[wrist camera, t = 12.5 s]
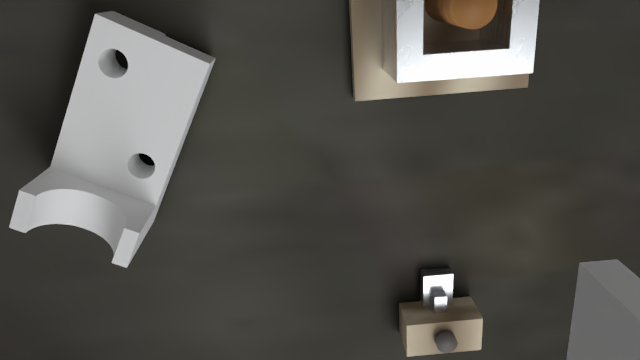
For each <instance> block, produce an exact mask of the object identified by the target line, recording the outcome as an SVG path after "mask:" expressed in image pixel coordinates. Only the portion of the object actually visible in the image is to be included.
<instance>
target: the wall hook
mask: <svg viewBox="0 0 640 360" xmlns="http://www.w3.org/2000/svg"><path fill="white" fill-rule="evenodd" d="M420 301H421V304H422V306H423V308H431V307H432V309H433V311H434V313H444V312H447V306H452V303H453V272H452V270H451V269H450V267H447V268H436V269H425V270H420Z"/></svg>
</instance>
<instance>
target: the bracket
mask: <svg viewBox="0 0 640 360" xmlns="http://www.w3.org/2000/svg"><path fill="white" fill-rule="evenodd" d="M116 50H119V51H120V52H122V53H123V54H124V55H125V57H126V59H127V61H128V69H125V68H123V67H121V66H120V65H119V63H118V62H117V60H116V56H115V53H116ZM215 59H216V58H214V57H212V56H210V55H207V54H205V53H203V52H201V51H198V50H196V49H194V48H191V47H189V46H187V45H185V44H182V43H180V42H178V41H176V40H173V39H171V38H169V37H167V36H166V34H164V33H162V32H160V31H157V30H155V29H153V28H151V27H148V26H146V25H144V24H142V23H139V22H137V21H135V20H133V19H130V18H128V17H126V16H124V15H121V14H119V13H117V12H114V11H109V12H103V13H96V14H95V15H94V19H93V22H92V26H91V29H90V33H89V36H88V39H87V43H86V46H85V50H84V53H83V56H82V60H81V63H80V67H79V70H78V74H77V77H76V80H75V84H74V87H73V91H72V94H71V97H70V101H69V104H68V108H67V111H66V114H65V118H64V121H63V125H62V128H61V132H60V135H59V138H58V142H57V145H56V149H55V152H54V155H53V159H52V162H51V166H50V167H49V168H48V169H47V170H45V171H44V172H43V173H41V174H40V175H39V176H37V177H36V178H35V179H33V180H32V181H31V182H29V183H28V184H27V185H25V186H24V187H23V188H21V189H20V190H19V193H18V197H17V200H16V204H15V208H14V211H13V215H12V219H11V222H10V226H9V228H12V229H15V230H18V231H21V232H24V233H26V232H27V231H29V230H30V229H32V228H35V227H38V226H41V225H47V224H66V225H73V226H77V227H81V228H84V229H87V230H90V231H92V232H94V233H96V234H98V235H99V236H101V237H102V238H104V239H105V240H106V241H107V242H108V243H109V244H110V246H111V247H112V249H113V252H114V258H113V260H112V263H114V264H117V265H120V266H123V267H125V268H127V267H128V265H129V263H130V261H131V260H132V258H133V256H134V255H135V253H136V251H137V249H138V248H139V246H140V244H141V242H142V241H143V239H144V237H145V236H146V234H147V232H148V230H149V229H150V227H151V225H152V223H153V222H154V219H155V217H156V214H157V211H158V209H159V206H160V203H161V201H162V198H163V196H164V193H165V190H166V188H167V185H168V182H169V180H170V177H171V175H172V172H173V169H174V167H175V164H176V161H177V159H178V156H179V153H180V151H181V148H182V146H183V143H184V140H185V138H186V135H187V132H188V130H189V127H190V124H191V122H192V119H193V117H194V114H195V111H196V109H197V106H198V103H199V101H200V98H201V96H202V93H203V90H204V88H205V85H206V82H207V80H208V77H209V74H210V72H211V69H212V67H213V64H214V61H215ZM139 153H142V154H146V155H148V156H149V157H151V158H152V160H153V161H154V164H155V166H151V165H147V164H145V163H144V162H143V161H142V160H141V159H140V157H139Z"/></svg>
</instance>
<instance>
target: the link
mask: <svg viewBox="0 0 640 360" xmlns="http://www.w3.org/2000/svg"><path fill="white" fill-rule="evenodd" d="M423 10H424V0H381V16H382V69H383V70H384V71H385V72H386V73H387V74H388V75H389V76H390V77H391V78H392V79H393V80H394V81H395V82H396V83H405V82H418V81H432V80H445V79H459V78H472V77H486V76H500V75H513V74H527V73H533V66H534V55H535V44H536V33H537V22H538V11H539V0H497V10H496V13H495V15H494V17H493V18H492V20H491V21H490V22H489V23H488V24H487V25H485V26H483V27H481V28H480V32H479V40H465V41H452V42H438V43H424V44H423Z"/></svg>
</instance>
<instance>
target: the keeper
mask: <svg viewBox="0 0 640 360" xmlns="http://www.w3.org/2000/svg"><path fill="white" fill-rule="evenodd" d="M496 10H497V0H424V10H423V44H424V43H438V42H452V41H465V40H479V32H480V28H481V27H483V26H485V25H487V24H488V23H489V22H490V21H491V20H492V18H493V17H494V15H495V13H496ZM349 11H350V32H351V54H352V76H353V98H354V100H355V101H364V100H376V99H389V98H401V97H413V96H426V95H438V94H450V93H463V92H475V91H487V90H500V89H512V88H524V87H528V78H529V73H527V74H513V75H500V76H486V77H472V78H459V79H445V80H432V81H418V82H405V83H396V82H395V81H394V80H393V79H392V78H391V77H390V76H389V75H388V74H387V73H386V72H385V71H384V70H383V69H382V16H381V0H349Z"/></svg>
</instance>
